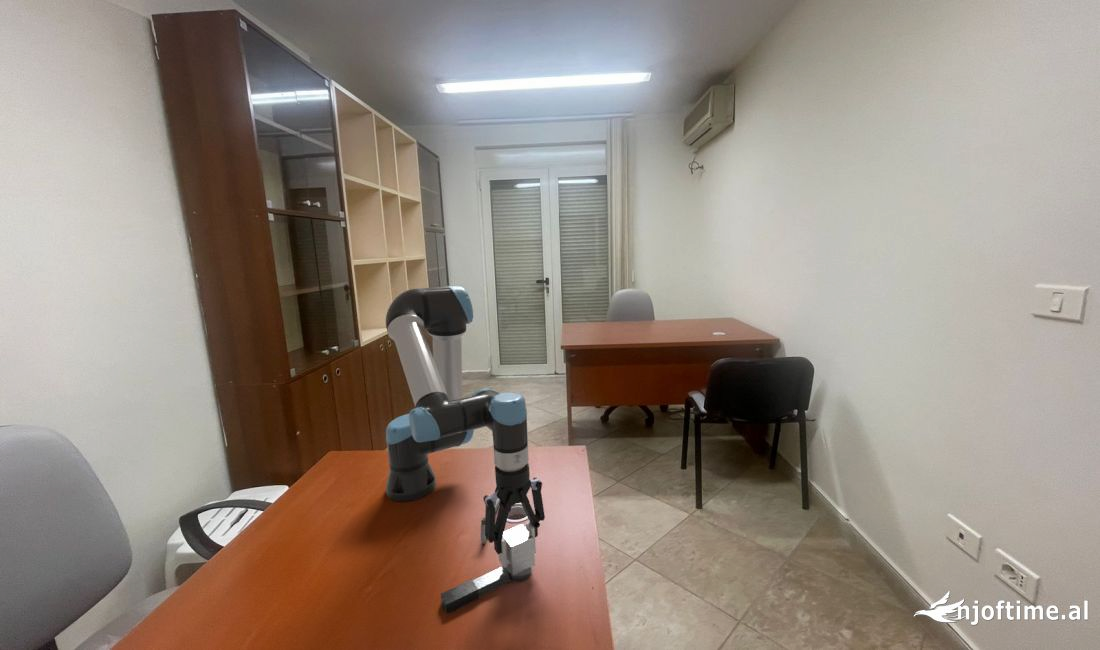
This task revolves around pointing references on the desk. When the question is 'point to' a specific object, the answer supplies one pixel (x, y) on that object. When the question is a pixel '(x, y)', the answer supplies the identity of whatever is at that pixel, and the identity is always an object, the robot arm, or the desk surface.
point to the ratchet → (480, 587)
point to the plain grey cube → (519, 549)
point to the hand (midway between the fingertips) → (517, 556)
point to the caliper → (483, 537)
